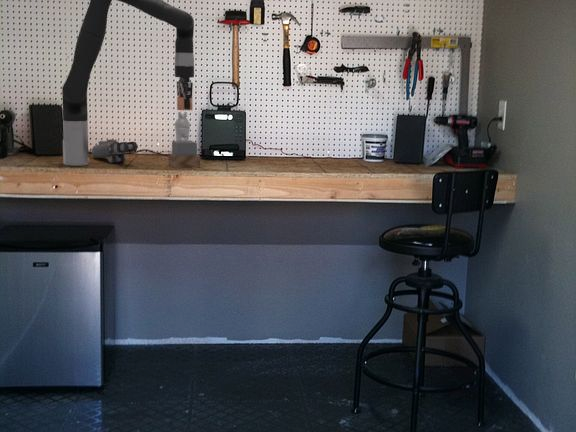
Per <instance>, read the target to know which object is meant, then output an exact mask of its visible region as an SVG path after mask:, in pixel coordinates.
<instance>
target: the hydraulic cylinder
mask: <svg viewBox="0 0 576 432" xmlns="http://www.w3.org/2000/svg"><path fill="white" fill-rule="evenodd" d="M138 148H139V145H138V144H137V142H136V141H128V142H127V141H121V142H120V141H118V140H117V139H112V138H111V139H107V140H100V141H98V144H95V145H94V146H92V148H91V154H92V156H93V157H94V158H96V159H105V158H108V159H107V160H108V162H109V163H110V164H111V163H112V165H113V164H115V163H117V162H118V163H119V164H124V163H125V162H126V161H127V159H126V156H125V153H126V154H127V153H135V152H137V150H138Z"/></svg>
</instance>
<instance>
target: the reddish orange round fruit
mask: <svg viewBox="0 0 576 432" xmlns="http://www.w3.org/2000/svg"><path fill="white" fill-rule="evenodd" d="M176 111H193V97H192V98H191V99H190V109H184V97H178V96H176Z"/></svg>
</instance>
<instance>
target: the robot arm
mask: <svg viewBox="0 0 576 432" xmlns="http://www.w3.org/2000/svg"><path fill="white" fill-rule="evenodd" d="M112 1H113V0H89V5H88V7H87V10H86V12H85V15H84V18H83V21H82V23H81V27H80V30H79V32H78V36H77V39H76V43H75V49H74V54H73V60H72V65H71V67H70V70H69V72H68V75H67V77H66V79H65V81H64V83H63V85H62V87H61V89H62V90H61V91H62V92H61V94H62V97H61V99H62V120H63V121H62V125H63V126H62V128H63V129H62V131H63V134H62V136H63V139H62V159H63V160H62V161H63V162H62V163H63V165H64V166H72V167H73V166H74V167H75V166H81V167H82V166H88V165H89V129H88V128H89V124H88V122H89V119H88V116H89V115H88V113H89V112H88V88H89V82H90V77H91V74H92V71H93V68H94V65H95V63H96V61H97V59H98V57H99V54H100V51H101V49H102V47H103V43H104V40H105V36H106V32H107V23H108V13H109V10H110V6H111V4H112ZM116 1H118V2H121V3H124V4H126V5H128V6H131V7H133V8H134V9H135V8H136V9H137V10H139V11H141V12H143V13H145V14H147V15H148V16H151V17H153V18H155V19H157V20H158V21H160V22H161V21H162V22H165V23H167V24H169V25H170V26H172V27H175V29H176V30H175V33H176V34H175V35H176V39H175V41H174V44H175V45H174V51H175V54H174V77H175V78H179V81H176V95H177V96H176V97H184V109H190V99H191V98H192V99H193V88H194V87H193V85H194V84H193V81H191V79H192V78H194V77H195V54H194V33H195V32H194V30H195V22H194V21H195V20H194V17H193V16H192V14H190V13H189V12H187V11H185V10H183V9H180V8H179V7H178V8H177V7H176V6H172V5H171V4H169V3H168V2H165V1H164V0H116ZM190 78H191V79H190Z"/></svg>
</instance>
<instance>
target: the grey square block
mask: <svg viewBox="0 0 576 432" xmlns="http://www.w3.org/2000/svg"><path fill="white" fill-rule="evenodd" d="M171 153H172V154H174V155H176V156H196V155H198V142H196V141H193V140H189V141H176V140H171Z"/></svg>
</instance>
